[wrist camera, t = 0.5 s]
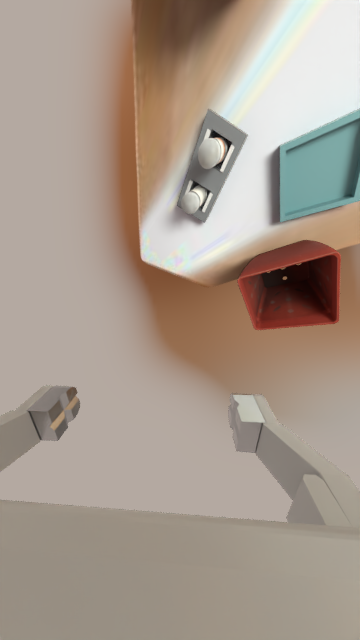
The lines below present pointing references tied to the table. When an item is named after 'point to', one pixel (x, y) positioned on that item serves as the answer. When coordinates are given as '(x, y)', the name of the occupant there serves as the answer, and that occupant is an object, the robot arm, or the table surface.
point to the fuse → (194, 199)
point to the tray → (321, 168)
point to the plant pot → (293, 286)
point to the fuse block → (214, 176)
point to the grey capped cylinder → (212, 152)
